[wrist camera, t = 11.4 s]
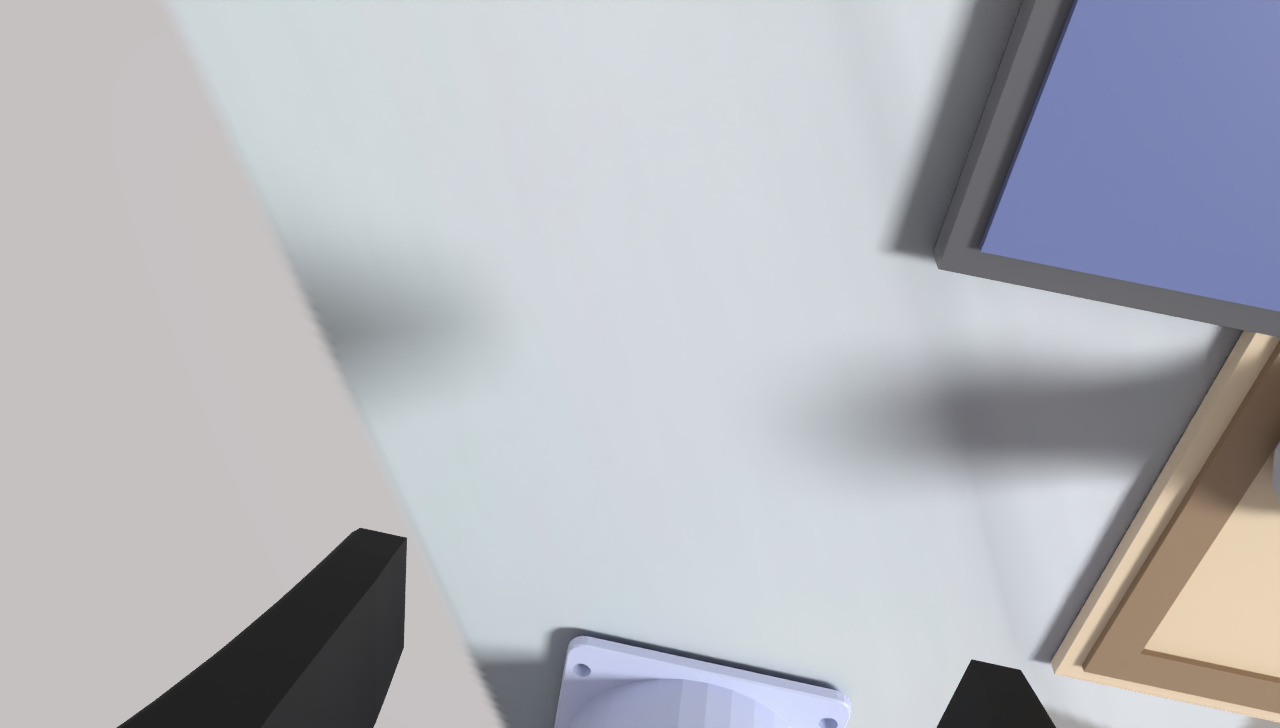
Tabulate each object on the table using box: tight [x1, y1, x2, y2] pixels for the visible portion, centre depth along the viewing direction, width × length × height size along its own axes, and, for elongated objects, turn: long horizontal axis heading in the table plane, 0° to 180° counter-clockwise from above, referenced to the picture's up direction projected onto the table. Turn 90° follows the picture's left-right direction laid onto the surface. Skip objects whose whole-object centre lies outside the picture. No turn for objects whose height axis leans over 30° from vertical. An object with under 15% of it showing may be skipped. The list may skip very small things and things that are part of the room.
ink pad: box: [933, 0, 1280, 337], centre depth 16 cm, size 8×8×1 cm
